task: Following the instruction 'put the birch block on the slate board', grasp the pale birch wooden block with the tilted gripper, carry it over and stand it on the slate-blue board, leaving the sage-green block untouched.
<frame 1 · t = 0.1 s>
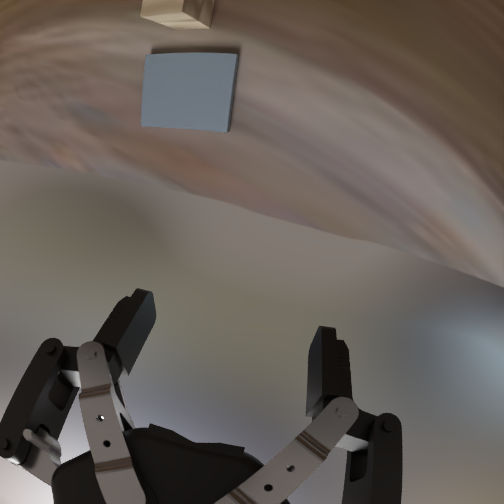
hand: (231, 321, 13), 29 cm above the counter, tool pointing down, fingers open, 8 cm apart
birch block: (195, 13, 26), on the counter
slate board: (188, 90, 33), on the counter
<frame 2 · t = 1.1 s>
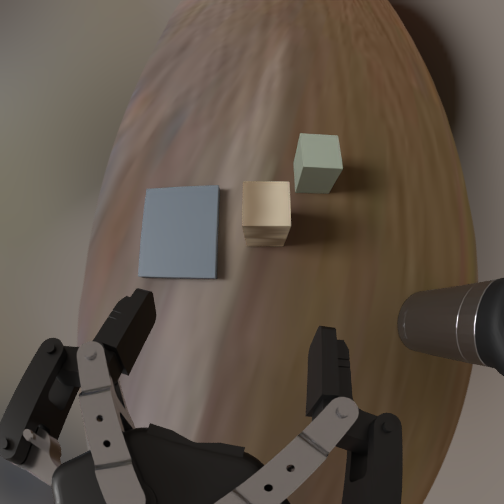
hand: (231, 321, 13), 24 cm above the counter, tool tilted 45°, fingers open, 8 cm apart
sage block: (310, 177, 40), on the counter
birch block: (264, 228, 39), on the counter
slate board: (180, 232, 39), on the counter
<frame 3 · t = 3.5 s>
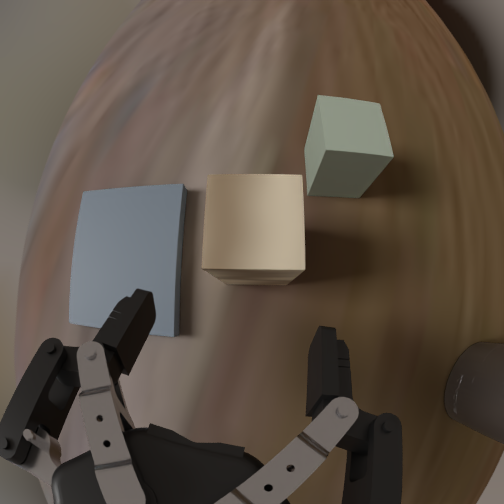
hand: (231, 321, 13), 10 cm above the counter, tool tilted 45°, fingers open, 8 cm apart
sage block: (331, 172, 25), on the counter
birch block: (256, 255, 24), on the counter
slate board: (126, 258, 24), on the counter
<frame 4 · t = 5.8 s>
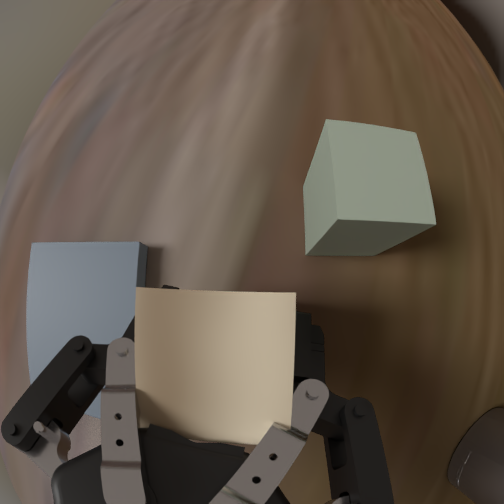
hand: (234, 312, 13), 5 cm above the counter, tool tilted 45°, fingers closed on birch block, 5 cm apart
sage block: (339, 220, 19), on the counter
birch block: (236, 337, 18), on the counter, touching gripper
slate board: (82, 329, 18), on the counter
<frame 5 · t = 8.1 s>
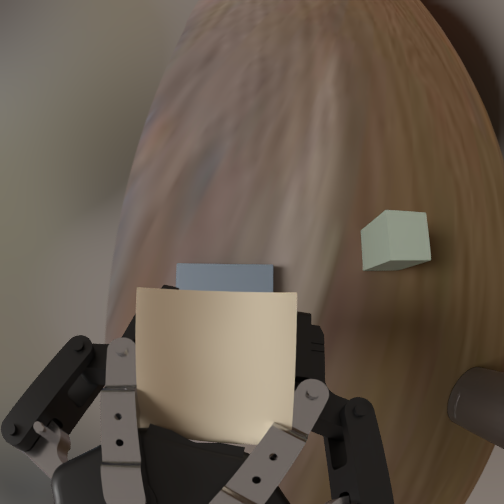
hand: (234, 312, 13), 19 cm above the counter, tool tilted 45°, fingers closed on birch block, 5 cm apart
sage block: (380, 250, 32), on the counter
birch block: (237, 337, 18), point 14 cm above the counter, touching gripper
slate board: (224, 321, 31), on the counter
when the fingers open (8 cm above the counter, at t = 10.9 s): birch block drops 1 cm, resting on slate board.
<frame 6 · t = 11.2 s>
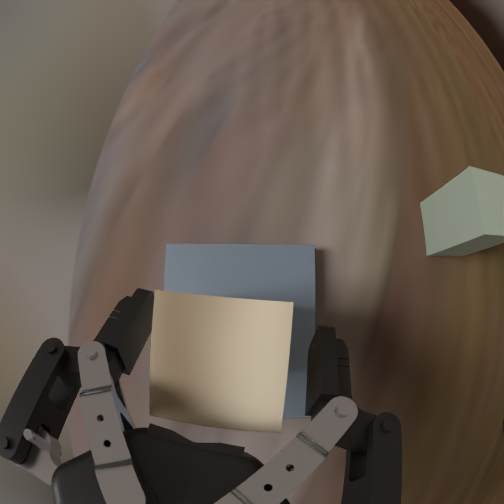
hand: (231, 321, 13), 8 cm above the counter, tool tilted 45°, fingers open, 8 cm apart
sage block: (443, 229, 22), on the counter
birch block: (237, 336, 19), point 1 cm above the counter, touching slate board
slate board: (238, 332, 20), on the counter
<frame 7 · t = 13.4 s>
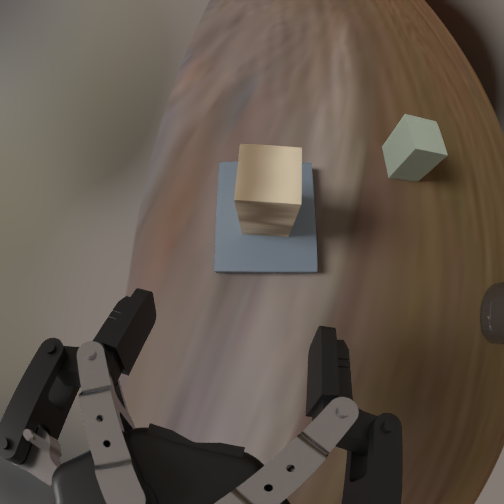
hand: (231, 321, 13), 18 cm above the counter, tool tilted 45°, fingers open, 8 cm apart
sage block: (400, 163, 33), on the counter
birch block: (266, 213, 31), point 1 cm above the counter, touching slate board
slate board: (265, 216, 32), on the counter
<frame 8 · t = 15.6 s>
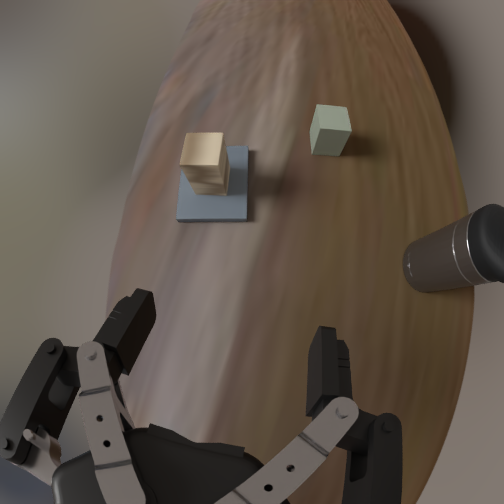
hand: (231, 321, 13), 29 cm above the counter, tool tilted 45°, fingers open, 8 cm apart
sage block: (324, 143, 46), on the counter
birch block: (213, 180, 43), point 1 cm above the counter, touching slate board
slate board: (214, 184, 45), on the counter
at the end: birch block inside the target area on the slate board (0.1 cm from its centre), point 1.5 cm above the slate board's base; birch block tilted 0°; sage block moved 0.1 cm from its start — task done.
